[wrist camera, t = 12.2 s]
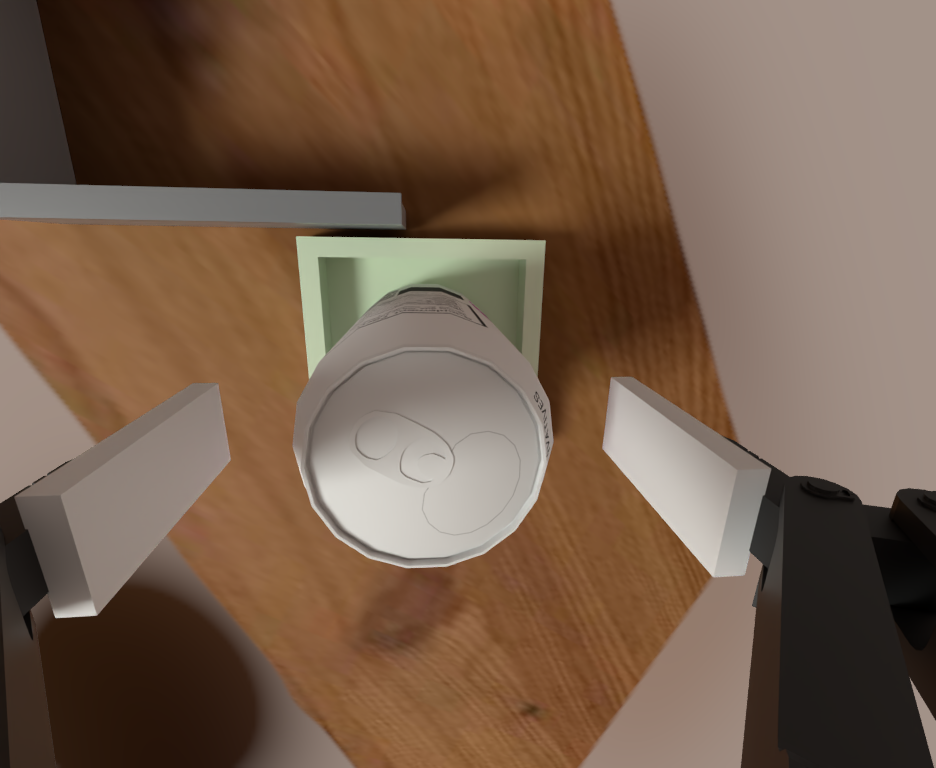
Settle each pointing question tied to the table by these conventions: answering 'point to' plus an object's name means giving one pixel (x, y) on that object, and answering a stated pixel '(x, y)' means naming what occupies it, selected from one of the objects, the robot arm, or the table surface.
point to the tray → (419, 262)
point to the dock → (63, 201)
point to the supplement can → (423, 431)
